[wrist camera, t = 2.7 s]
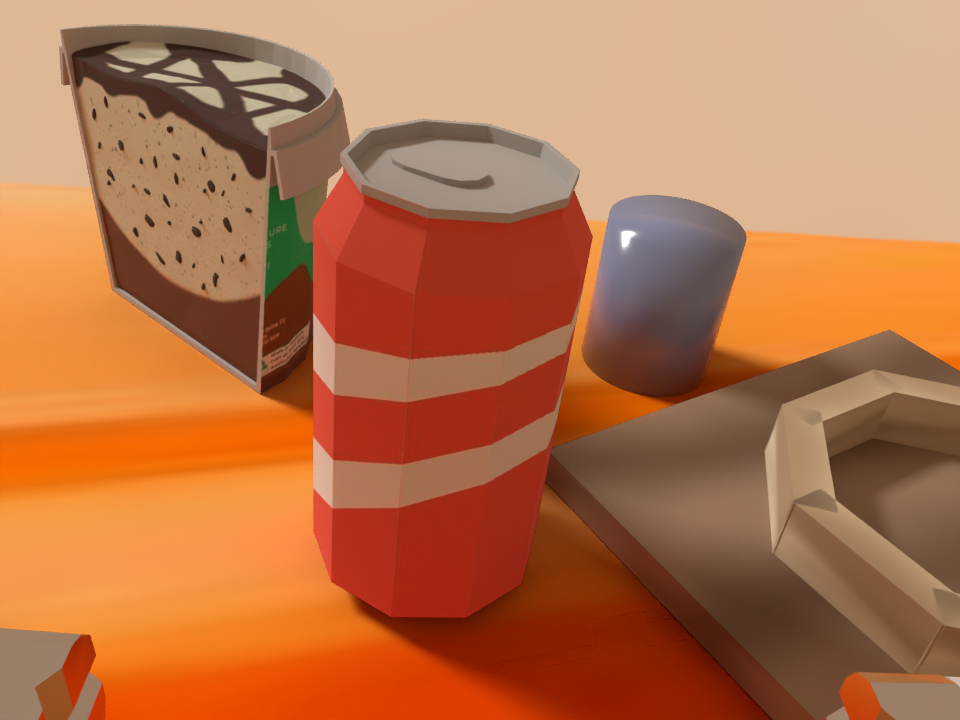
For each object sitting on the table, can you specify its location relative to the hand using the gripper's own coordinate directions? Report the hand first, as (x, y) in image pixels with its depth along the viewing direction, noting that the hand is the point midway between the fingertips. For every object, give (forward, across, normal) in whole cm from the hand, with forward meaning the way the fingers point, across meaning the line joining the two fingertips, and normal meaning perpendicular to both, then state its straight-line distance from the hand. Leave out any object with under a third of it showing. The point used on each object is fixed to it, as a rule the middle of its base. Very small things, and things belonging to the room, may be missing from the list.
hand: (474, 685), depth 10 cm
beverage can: (+12, 0, +11) cm, 17 cm away
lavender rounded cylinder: (+24, -8, +11) cm, 27 cm away
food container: (+25, +8, +11) cm, 28 cm away
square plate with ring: (+13, -16, +11) cm, 23 cm away
